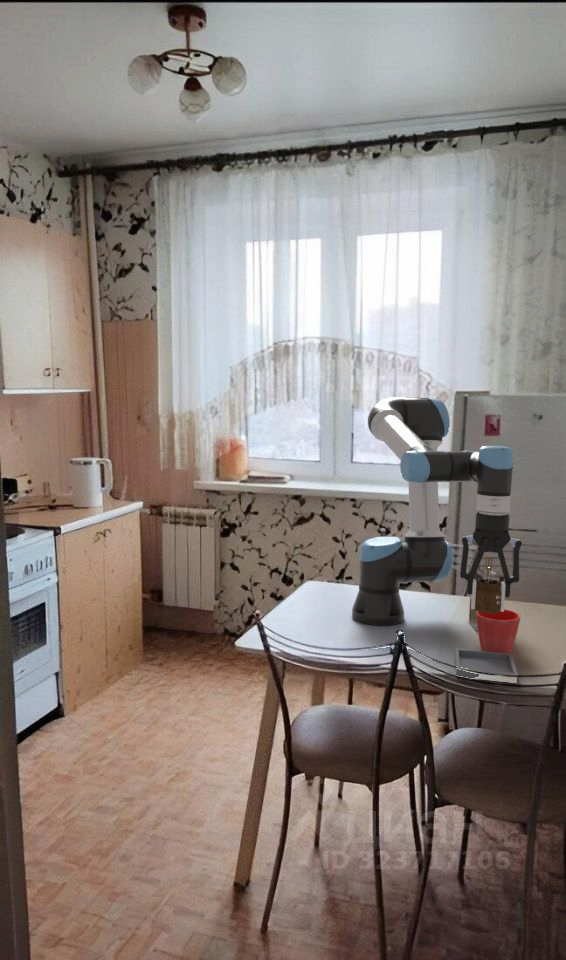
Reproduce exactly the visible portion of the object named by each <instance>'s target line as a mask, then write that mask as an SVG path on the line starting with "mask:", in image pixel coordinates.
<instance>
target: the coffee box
mask: <svg viewBox="0 0 566 960" xmlns="http://www.w3.org/2000/svg"><path fill="white" fill-rule="evenodd" d="M484 570H485V568H478V569H477V572H476V574H475V577H474V579H473V580H476V588H477V587H478V586H477V582H478V580H480V579H485V576H486V579H488V572H487V571H486V572H485V571H484ZM492 570H493V571H490V572H489V573H490V576H489V579H493V580H497V581H499V582H500V588H499V589H500V591H501V582H505V580H504V576H503V574H500V573H499V572H497V571H496V570H494V568H493V569H492ZM492 572H493V575H492ZM471 598H472V594H469V611H468V613H469V615H468V617H469V618H468V624H469V625H470V626H471V627H472V628H473V629H475V630H476V631H477V632H478V626H477V618H476V612H477V610H476V609H472V608H471Z"/></svg>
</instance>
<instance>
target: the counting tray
mask: <svg viewBox="0 0 566 960" xmlns="http://www.w3.org/2000/svg"><path fill="white" fill-rule="evenodd" d="M454 663H455V665H456V666H458V667H463V668H468V669H469V670H473V671H479V672H484V673H488V674H496V675H518V676H519V673H518V670H517V667H516V664H515V660H514V658H513V654H512V653H499V652H488V651H483V650H479V649H478V650H475V649H465V648H456V647H455V648H454ZM456 675H458V676H463V677H468V678H475V677H478V676H479V674H474V673H470V672H466V671H463V670H459V669H456V668H455V676H456Z"/></svg>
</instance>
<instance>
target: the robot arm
mask: <svg viewBox="0 0 566 960" xmlns="http://www.w3.org/2000/svg"><path fill="white" fill-rule="evenodd" d="M450 426H451V425H450V414H449V410H448V408H447V406H446V405H445V402H443V401H442V400H440V399H438V398H434V397H433V398H431V397H393V396H392V397H389V398H385V399H382V400H380V401H379V402H377V403H376V404H375V405H374V406H373V407H372V408H371V410H370V412H369V414H368V417H367V427H368V430H369V431H370V433H371V435H372V436H373V437H374V438H375V439H376V440H378V441H380V442H384V444H385V445H386V446H387V448H389V449H390V450H391V451H392V453H394V454H393V455H395V456H396V457H397V458H398V459H399V460H400V466H399V467H400V473H401V476H402V479H404V481H406V482H407V483H408V515H409V516H408V517H409V518H408V519H409V520H408V521H409V523H408V524H409V525H408V526H409V530H408V531H407V532H406V533H405V534H404V541H403V542H402V540H401V538H399V537H398V536H397V537H396V536H377V537H371V538H369V539H366V540H365V541H363V543H362V544H361V545H360V552H359V558H358V559H359V574H358V575H359V576H358V577H359V580H358V581H359V582H358V584H359V585H358V592H357V595H356V597H355V601H354V603H353V606H352V610H351V613H352V614H351V617H352V619H353V620H355V621H356V622H358V623H363V624H365V625H372V626H384V627H385V626H394V625H398V624H401V623H402V622H403V621H404V620H405V609H404V605H403V602H402V598H401V596H400V595H401V594H400V583H434V582H441V581H444V580H445V579H447V577H449V574H450V573H451V571H452V567H453V562H454V552H453V548H452V544H451V543H450V542H448V541H446V540H445V536H446V535H445V534H444V533H443V532H442V531H441V530H440V514H439V513H440V512H439V511H440V507H439V503H440V502H439V483H475V484H477V489H476V491H477V492H476V504H475V505H476V508H475V509H476V511H477V512H476V513H475V525H474V526H475V527H474V531H473V533H472V534H470V535H462V536H461V542H462V555H461V562H460V563H461V564H460V570H459V571H460V573H459V575H460V578H461V579H464V580H466V581H467V585H466V588H467V589H466V592H467V595H470V594H472V598H471V608H472V609H475V598H476V580H473V579H474V577H475V574H476V572H477V569H479V566H480V563H481V561H482V558H483V556H485V555H484V554H485V553H489V552H492V553H495V554H497V556H498V559H499V565H500V568H501V571H502V576H504V582H501V607H500V611H501V612H504V609H505V600H506V598H510V596H511V584H513V583H519V582H520V550H521V547H522V543H523V542H522V541H521V539H520V538H515V537H511V535H510V532H509V531H510V515H509V514H508V513H510V512H511V493H512V482H513V469H514V468H513V467H514V458H513V456H514V455H513V454H514V453H513V452H514V451H513V449H512V447H509V446H505V445H504V446H502V445H482V446H481V447H480V448H479V451H478V450H475V449H467V450H461V451H458V450H457V451H455V450H453V451H452V450H451V451H450V450H449V451H448V450H447V451H446V450H438V449H439V447H440V446H441V445H442V444H443V438H445V437H447V436H448V434H449V431H450V430H449V428H450ZM472 541H474V542H475V544H476V545H477V546H478V548H477V549H476V550H477V552H476V554H475V557H474V559H473V561H472V564H471V566H470V570H469V572H467V568H468V560H469V559H468V557H469V551H470V550H469V549H470V547H469V546H471V545H472ZM509 543H510V547H511V548H512V575H510V574H509V569H508V565H507V563H506V559H505V555H504V551H503V549H504V548H505V547H506V546H507V545H508V544H509Z"/></svg>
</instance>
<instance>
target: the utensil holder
mask: <svg viewBox="0 0 566 960" xmlns="http://www.w3.org/2000/svg"><path fill="white" fill-rule="evenodd" d="M484 569H485V570H484V571H485V572H486V571H487V572H488V579H486V576H485V579H480V580H478V582H477V586H478V587H477V588H476V598H475V609H476V610H477V611H479V612H482V613H489V614H493V613H498V612H499V611H500V607H501V591H500V589H499V588H500V582H499V581H497V580H493V579H489V576H490V573H489V572H490V571H493V570H494V568H493V558H492V557H491V558H490V557H485V568H484ZM492 569H493V570H492ZM492 575H493V572H492Z"/></svg>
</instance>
